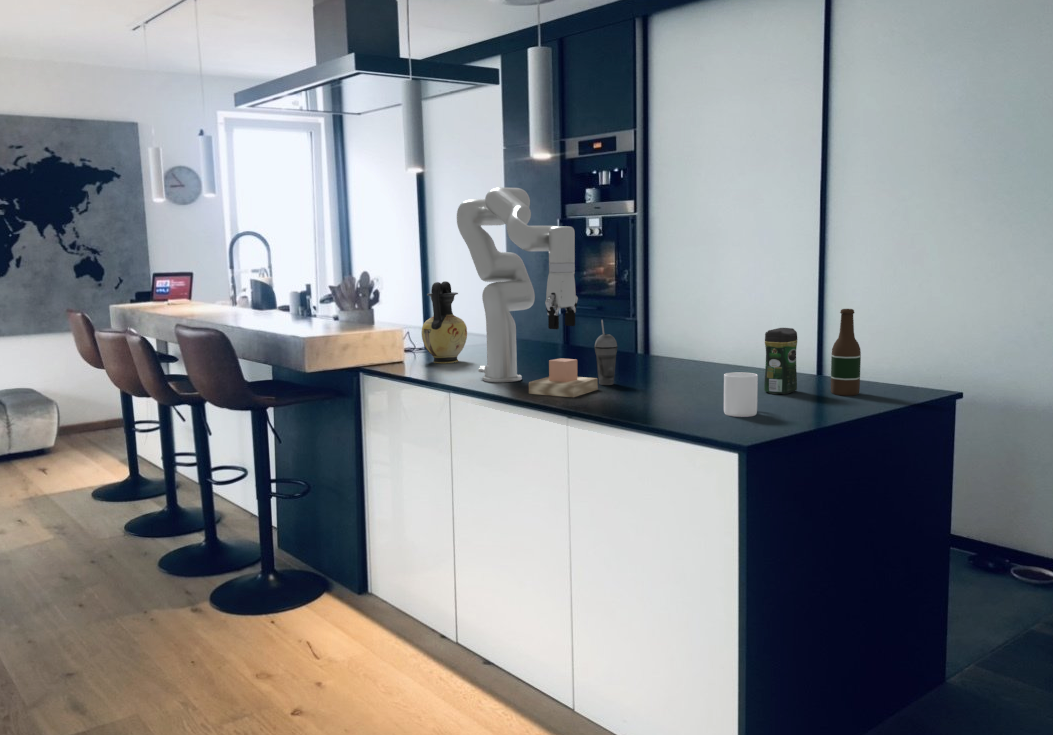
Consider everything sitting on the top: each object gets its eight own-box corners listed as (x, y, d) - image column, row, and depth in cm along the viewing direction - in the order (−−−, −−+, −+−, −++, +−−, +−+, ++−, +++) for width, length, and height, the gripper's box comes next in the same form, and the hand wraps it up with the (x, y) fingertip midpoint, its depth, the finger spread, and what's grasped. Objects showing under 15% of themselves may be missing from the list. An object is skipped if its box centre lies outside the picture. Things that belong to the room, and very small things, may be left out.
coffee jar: (776, 388, 273) (777, 325, 270) (800, 391, 267) (802, 327, 265) (759, 392, 266) (760, 328, 263) (784, 395, 261) (785, 330, 258)
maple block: (528, 395, 272) (528, 382, 272) (554, 388, 285) (554, 375, 285) (573, 399, 265) (573, 385, 264) (597, 391, 277) (597, 378, 277)
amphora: (427, 359, 355) (425, 280, 351) (471, 358, 354) (469, 280, 350) (418, 365, 338) (415, 283, 334) (463, 365, 336) (461, 282, 332)
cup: (718, 415, 235) (718, 375, 233) (737, 407, 244) (738, 369, 243) (748, 418, 230) (749, 377, 228) (767, 410, 239) (768, 371, 238)
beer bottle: (859, 391, 264) (862, 308, 261) (859, 396, 257) (862, 310, 254) (830, 390, 267) (833, 307, 264) (830, 395, 260) (832, 310, 256)
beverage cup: (616, 385, 283) (616, 320, 280) (593, 385, 284) (592, 320, 282) (619, 382, 290) (618, 318, 287) (596, 381, 292) (595, 318, 289)
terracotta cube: (549, 380, 274) (549, 360, 273) (560, 378, 279) (560, 358, 278) (565, 382, 270) (565, 361, 270) (577, 379, 275) (577, 359, 274)
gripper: (565, 267, 279) (565, 324, 282) (535, 270, 265) (535, 329, 267) (587, 267, 275) (587, 325, 278) (558, 270, 261) (558, 330, 263)
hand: (562, 327), depth 272 cm, fingers open, 9 cm apart
